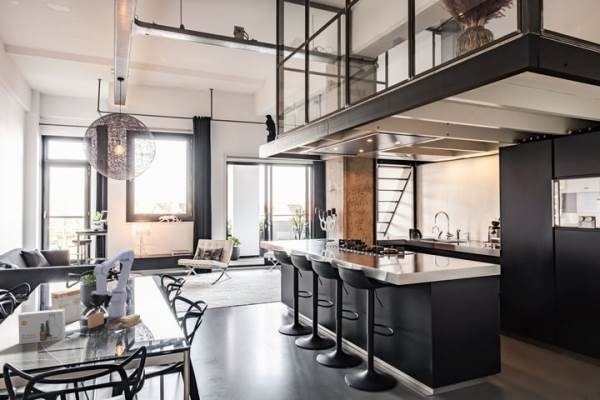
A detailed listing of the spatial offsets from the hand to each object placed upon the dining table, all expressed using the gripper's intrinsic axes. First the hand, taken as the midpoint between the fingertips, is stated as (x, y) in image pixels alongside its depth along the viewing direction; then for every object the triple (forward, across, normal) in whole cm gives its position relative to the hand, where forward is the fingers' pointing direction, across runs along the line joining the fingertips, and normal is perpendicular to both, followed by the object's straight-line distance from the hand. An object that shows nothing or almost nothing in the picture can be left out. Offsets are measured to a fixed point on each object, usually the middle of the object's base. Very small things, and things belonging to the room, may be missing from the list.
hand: (101, 306), depth 251 cm
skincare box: (+11, -7, -34) cm, 36 cm away
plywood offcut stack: (+9, +20, +1) cm, 23 cm away
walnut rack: (+10, +16, +1) cm, 19 cm away
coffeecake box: (+11, -27, -2) cm, 29 cm away
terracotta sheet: (+10, +2, -7) cm, 13 cm away
